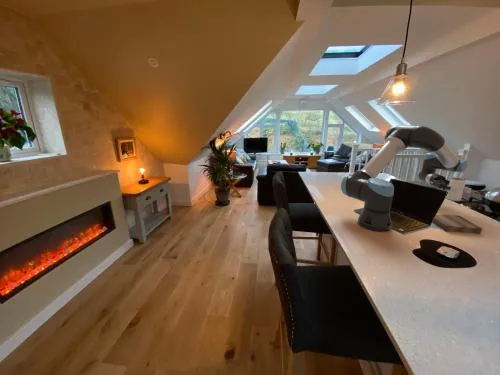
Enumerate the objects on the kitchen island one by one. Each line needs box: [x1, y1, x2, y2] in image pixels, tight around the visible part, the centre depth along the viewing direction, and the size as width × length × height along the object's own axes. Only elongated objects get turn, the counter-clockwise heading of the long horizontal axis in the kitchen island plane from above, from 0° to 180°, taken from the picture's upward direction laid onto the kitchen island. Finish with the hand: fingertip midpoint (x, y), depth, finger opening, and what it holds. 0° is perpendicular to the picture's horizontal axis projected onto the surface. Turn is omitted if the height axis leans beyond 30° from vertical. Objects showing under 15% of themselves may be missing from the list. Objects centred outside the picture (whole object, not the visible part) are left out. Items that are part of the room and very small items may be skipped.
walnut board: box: [432, 213, 483, 235], centre depth 116 cm, size 15×15×3 cm
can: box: [445, 177, 466, 202], centre depth 126 cm, size 6×6×12 cm
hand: (462, 190), depth 121 cm, fingers closed on can, 6 cm apart
